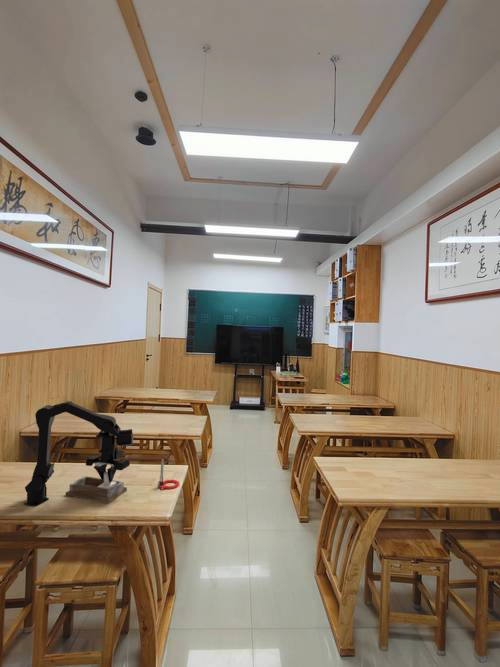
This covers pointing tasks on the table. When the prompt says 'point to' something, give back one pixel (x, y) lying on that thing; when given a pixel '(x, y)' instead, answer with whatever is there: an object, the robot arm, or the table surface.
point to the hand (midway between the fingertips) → (107, 481)
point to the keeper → (107, 482)
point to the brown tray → (95, 490)
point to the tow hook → (166, 480)
